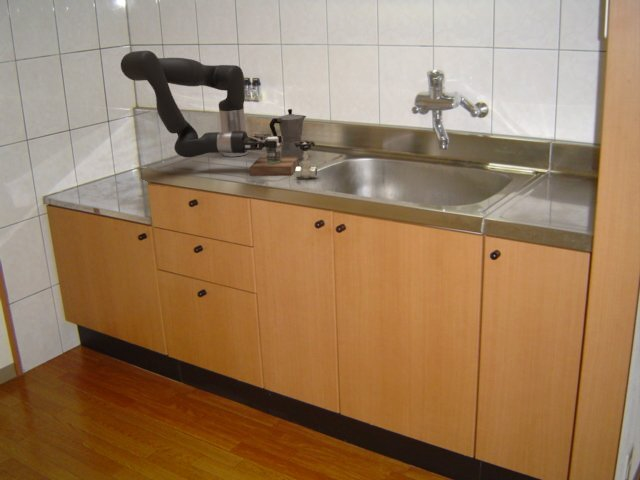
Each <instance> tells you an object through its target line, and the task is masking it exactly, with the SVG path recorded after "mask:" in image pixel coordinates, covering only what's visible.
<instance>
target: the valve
mask: <svg viewBox="0 0 640 480" xmlns="http://www.w3.org/2000/svg"><path fill="white" fill-rule="evenodd" d="M315 145H316V144H315V142H314V141H313V140H310V141H309V140H304V141H302V140H301V141H299V142H295V146H296V147H299V146H300V149H301V150H302V151H304V153H303V154H302V156H303V158H304V159H302V161H301V162H300V165H301V166H298V167H296V170H295V171H294V173H295V178H296V179H305V180H308V179H310V178H311V179H317V177H318V168H317V167H316V166H310V165H311V161H310V160H309V153H308V151H309V150H311V149H312V147H314V146H315Z"/></svg>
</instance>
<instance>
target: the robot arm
mask: <svg viewBox="0 0 640 480" xmlns="http://www.w3.org/2000/svg"><path fill="white" fill-rule="evenodd" d="M120 70H121V72H122V73H123V75H124V76H125V77H126V78H128V79H129V80H132V81H136V82H137V81H138V82H139V81H147V82H148V84H150V87H151V88H152V89H153V91H154V95H155V101H156V102H155V103H156V111H157V114H158V117H159V118H160V120H161V122H162V123H163V125H164V127H165V128H166V130H167V131H168V133H170V134H177V138H176V141H175V144H174V151H175V153H176V154H177V155H178V156H180V157H183V158H194V157H198V156H202V155H206V154H219V153H221V154H223V156H224V157H232V158H233V157H235V158H236V157H242V156H245V155H247V154H248V151H262V150H264V149H266V148H276V147H277V141H267V138H268V137H278V139H279V143H281V144H282V141H283V137H282V135H277V136H273V135H271V134H269V133H268V134H263V133H262V134H258V133H257V134H255V133H254V134H253V135H251V136H248V133H247V130H246V119H245V106H244V104H245V98H246V95H245V94H246V93H245V92H246V91H245V75H244V72H243V70H242V68H241V67H240V66H238V65H235V64H234V65H233V64H231V65H230V64H219V65H218V64H217V65H216V64H215V65H210V64H209V65H208V64H203V63H201V62H200V61H198V60H196V59H191V58H184V57H162V58H160V57H158V56H157V55H156V53H154V52H153V51H150V50H137V51H130V52H128V53H126V54H124V56H123V57H122V59H121V61H120ZM169 84H171V85H175V86H176V85H177V86H181V87H182V86H185V87H200V86H201V87H202V86H203V87H208V88H212V89H216V90H218V91H226V98H225V99H223V100H220V101H219V102H218V111H219V122H220V132H219V131H218V132H217V131H214V132H212V131H211V132H205V133H204V134H203V135H202V136H201V137H199V134H198V132H197V131H196V129H195V128H194V127H193V126H192V124H190V123H189V122H188V120H186V119H185V117H184V115H183V112H182V111H181V110H180V108H179V106H178V104H177V102H176V101H175V98H174V96H173V93H172V91H171V88H170V85H169Z"/></svg>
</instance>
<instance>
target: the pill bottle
mask: <svg viewBox="0 0 640 480" xmlns="http://www.w3.org/2000/svg"><path fill="white" fill-rule="evenodd" d="M266 140H267V141H277V147H276V148H265V149H266V157H267V162H268V163H279V162H281V144H280V143H279V139H278V137H268V138H266Z"/></svg>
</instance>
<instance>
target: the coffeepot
mask: <svg viewBox="0 0 640 480" xmlns="http://www.w3.org/2000/svg"><path fill="white" fill-rule="evenodd" d="M287 113H288V114H285V115H282V116H279V117H274V118H272V119H271V121H270V122H269V128H270V131H271V133H272V136H278V132H277V131H276V127H275V124H278V125H279V130H280V136H281V137H282V142H281V147H280V154H281V157H298V160H299V161H301V160H302V161H303V159H304V158H303V156H302V154H303V153H304V151H302V150H301V149H300V146H299V147H296V146H295V142H299V141H302V135H303V124H304V120H305V119H306V118H307V115H302V114H294V113H293V109H292V108H291V109H290V108H289V109H287Z"/></svg>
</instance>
